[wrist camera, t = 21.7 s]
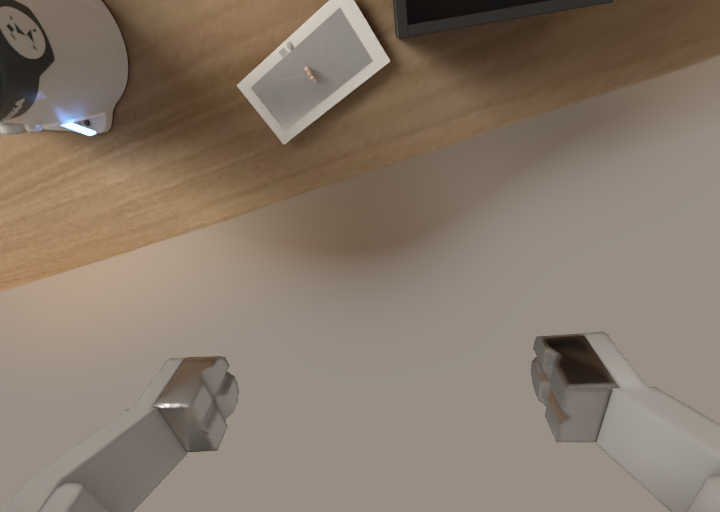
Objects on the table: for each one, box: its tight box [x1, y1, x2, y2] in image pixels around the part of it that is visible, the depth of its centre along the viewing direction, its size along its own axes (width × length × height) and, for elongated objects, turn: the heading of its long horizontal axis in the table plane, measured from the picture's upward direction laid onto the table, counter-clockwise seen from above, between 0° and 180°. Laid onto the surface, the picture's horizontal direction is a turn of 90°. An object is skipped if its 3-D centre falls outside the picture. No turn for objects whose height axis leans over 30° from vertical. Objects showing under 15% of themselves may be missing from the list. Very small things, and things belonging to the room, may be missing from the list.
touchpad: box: [236, 0, 390, 145], centre depth 39 cm, size 8×15×2 cm, turn 126°
